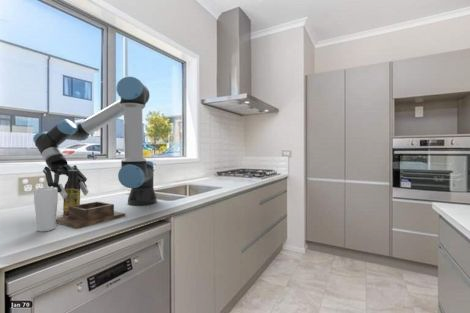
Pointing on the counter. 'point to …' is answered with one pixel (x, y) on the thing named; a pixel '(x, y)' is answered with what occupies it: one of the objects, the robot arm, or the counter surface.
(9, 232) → the counter surface
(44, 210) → the drinking glass
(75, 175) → the sauce bottle
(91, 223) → the walnut bottle holder
